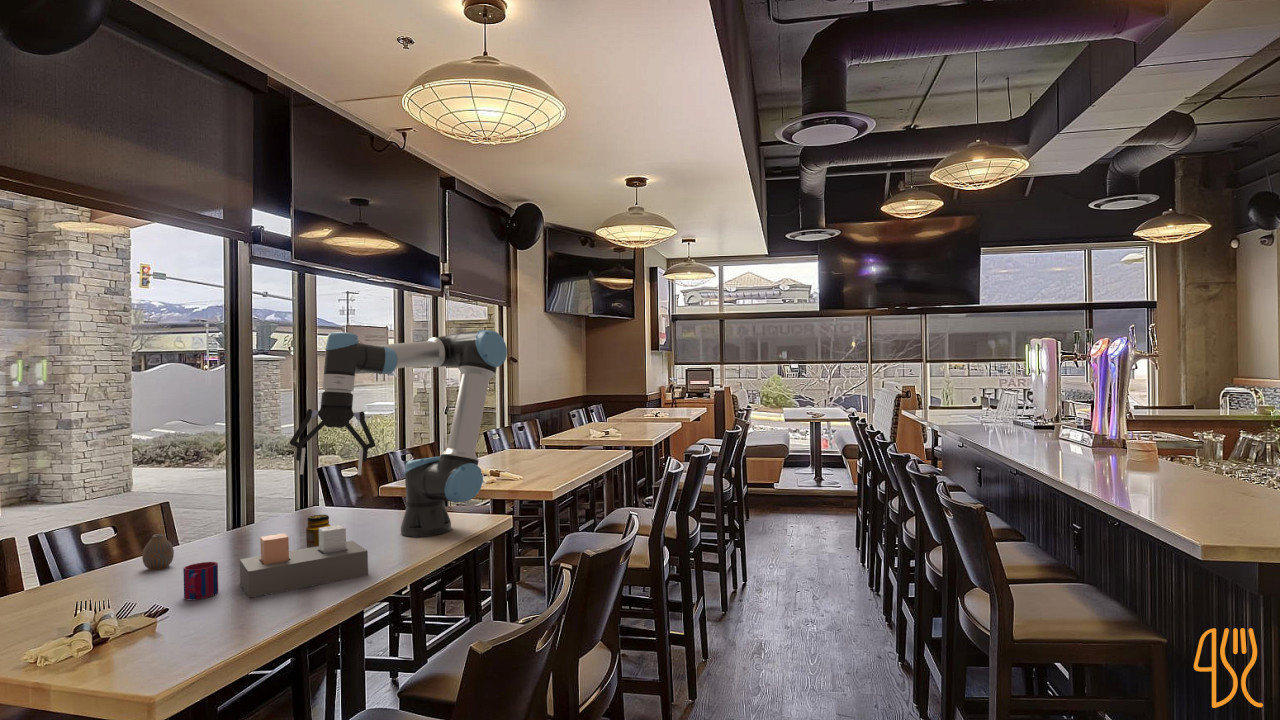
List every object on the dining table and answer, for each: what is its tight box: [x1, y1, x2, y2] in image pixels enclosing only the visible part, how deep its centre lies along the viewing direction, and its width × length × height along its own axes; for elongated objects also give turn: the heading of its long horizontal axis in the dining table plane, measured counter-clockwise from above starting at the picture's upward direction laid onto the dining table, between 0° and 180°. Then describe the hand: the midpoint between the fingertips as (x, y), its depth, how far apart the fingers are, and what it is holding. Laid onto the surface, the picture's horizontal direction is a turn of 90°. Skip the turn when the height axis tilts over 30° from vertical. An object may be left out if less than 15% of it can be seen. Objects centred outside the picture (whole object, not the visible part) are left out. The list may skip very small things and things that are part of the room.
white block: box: [319, 524, 347, 554], centre depth 174 cm, size 5×5×6 cm
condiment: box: [305, 514, 331, 548], centre depth 188 cm, size 7×8×12 cm
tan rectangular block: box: [259, 532, 290, 565], centre depth 167 cm, size 5×5×6 cm
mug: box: [182, 561, 219, 601], centre depth 159 cm, size 7×10×7 cm
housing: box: [239, 540, 369, 599], centre depth 170 cm, size 26×14×6 cm, turn 127°
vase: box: [141, 533, 175, 571], centre depth 186 cm, size 7×7×9 cm
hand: (330, 474), depth 179 cm, fingers open, 13 cm apart
